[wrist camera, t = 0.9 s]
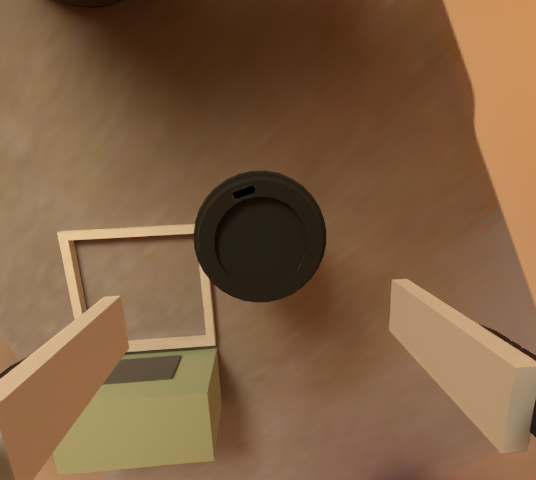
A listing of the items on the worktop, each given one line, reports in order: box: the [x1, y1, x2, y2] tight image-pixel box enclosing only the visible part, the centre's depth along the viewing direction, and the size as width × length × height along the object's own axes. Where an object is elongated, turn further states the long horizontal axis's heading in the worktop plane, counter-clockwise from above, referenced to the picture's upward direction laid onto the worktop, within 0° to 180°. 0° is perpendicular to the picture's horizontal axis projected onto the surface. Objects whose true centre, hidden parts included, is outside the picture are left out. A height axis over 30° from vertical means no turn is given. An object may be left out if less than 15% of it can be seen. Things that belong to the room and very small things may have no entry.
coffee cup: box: [194, 171, 326, 302], centre depth 26 cm, size 10×10×15 cm
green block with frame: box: [53, 224, 222, 475], centre depth 31 cm, size 25×16×8 cm, turn 3°
